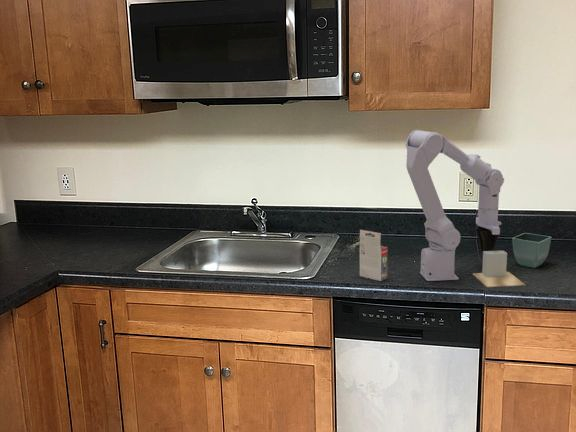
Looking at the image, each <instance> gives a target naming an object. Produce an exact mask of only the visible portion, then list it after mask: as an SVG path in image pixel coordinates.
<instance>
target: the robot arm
mask: <svg viewBox="0 0 576 432" xmlns="http://www.w3.org/2000/svg"><path fill="white" fill-rule="evenodd" d="M405 147H406V163H405V165H406V170H407V173H408V175H409V178H410V180H411V183H412V185H413V187H414V191H415V194H416V196H417V198H418V201H419V204H420V205H421V208H422V212H423V214H424V216H425V218H426V221H425V222H424V223H423V225H424V229H425V232H424V233H425V238H426V240H427V242H428V246H429V247H425V248H422V249H421V250H420V251H421V253H420V272H419V274H420V275H421V276H422V277H423V278H424V280H426V281H427V282H435V281H457V280H459V279H460V278H459V277H458V276H457V275H456V273H455V259H456V258H455V257H456V256H455V255H456V250H457V248H458V246H459V244H460V242H461V239H462V238H461V233H460V231H459V230H458V229H457V228H455V225H454V224H453V222H452V221H451V219H449V218H448V217H447V215H446V213H445V210H444V207H443V205H442V203H441V200H440V197H439V194H438V192H437V190H436V187H435V185H434V181H433V179H432V176H431V173H430V171H429V166H430V165H431V164H432V163H433V161H434V160H435V159H436V158H437V157H438V155H439V154H443V155H445V157H448V158H449V159H450V160H453V162H456V163H458V164H459V165H460V166H459V168H460V170H461V172H463V173H464V174H466V175H467V176H469V177H470V178H471V179H473V180H474V182H475V183H476V185H478V201H477V203H478V207H477V216H476V217H475V224H476V227H474V231H475V232H476V235H477V238H478V243H479V248H480V251H481V252H483V251H494V248H495V245H496V243H497V240H498V239H499V237H500V235H501V228H500V226H502V222H501V221H500V220H498V219H499V218H498V217H499V204H500V203H499V201H500V199H499V198H500V193H501V187H502V186H503V185H504V182H505V177H504V176H503V174H502V172H501V171H500V170H499V169H497V168H493V167H492V164H491V163H488V162H485V161H484V160H482V159H481V156H480V155H479V154H473V153H470V154H467V153H465V152H464V151H463V150H462V149H460V148H459V147H458V146H457V145H456V144H454V143H453V142H452V141H450V140H449V138H447V137H446V136H444V135H442V134H440V133H439V132H437V131H426V130H421V129H415V130H413V131H411V132H410V133H409V135H408V137H407V139H406V141H405Z"/></svg>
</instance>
